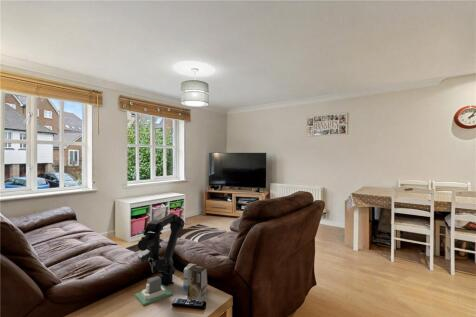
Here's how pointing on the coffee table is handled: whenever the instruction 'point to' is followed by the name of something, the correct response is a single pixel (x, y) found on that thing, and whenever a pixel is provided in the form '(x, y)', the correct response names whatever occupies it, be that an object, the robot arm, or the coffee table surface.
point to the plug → (153, 285)
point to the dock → (153, 295)
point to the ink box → (186, 276)
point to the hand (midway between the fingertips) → (153, 272)
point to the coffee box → (197, 283)
